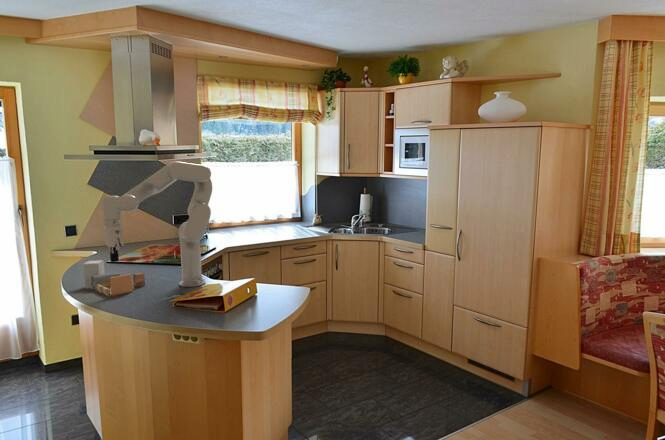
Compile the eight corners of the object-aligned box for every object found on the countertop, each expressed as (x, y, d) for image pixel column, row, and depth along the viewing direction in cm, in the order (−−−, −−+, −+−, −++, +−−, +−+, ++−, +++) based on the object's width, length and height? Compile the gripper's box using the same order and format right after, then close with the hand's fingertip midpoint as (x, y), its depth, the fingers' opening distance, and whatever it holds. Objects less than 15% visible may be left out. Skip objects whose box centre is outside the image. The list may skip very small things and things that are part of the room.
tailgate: (133, 292, 235) (131, 274, 234) (111, 297, 229) (110, 278, 227) (132, 292, 236) (130, 273, 235) (111, 296, 229) (109, 277, 228)
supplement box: (106, 284, 254) (104, 260, 253) (99, 288, 247) (97, 263, 245) (91, 284, 254) (89, 260, 252) (84, 288, 247) (82, 263, 245)
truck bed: (134, 292, 237) (133, 278, 236) (108, 298, 229) (107, 283, 228) (116, 285, 252) (115, 271, 251) (91, 290, 243) (90, 276, 242)
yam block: (145, 287, 247) (144, 273, 246) (137, 289, 244) (136, 275, 243) (141, 286, 250) (140, 272, 249) (133, 287, 247) (132, 273, 246)
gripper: (127, 223, 229) (129, 262, 231) (114, 220, 239) (116, 258, 241) (110, 224, 223) (112, 265, 225) (98, 221, 234) (100, 260, 236)
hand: (114, 261), depth 233 cm, fingers closed
